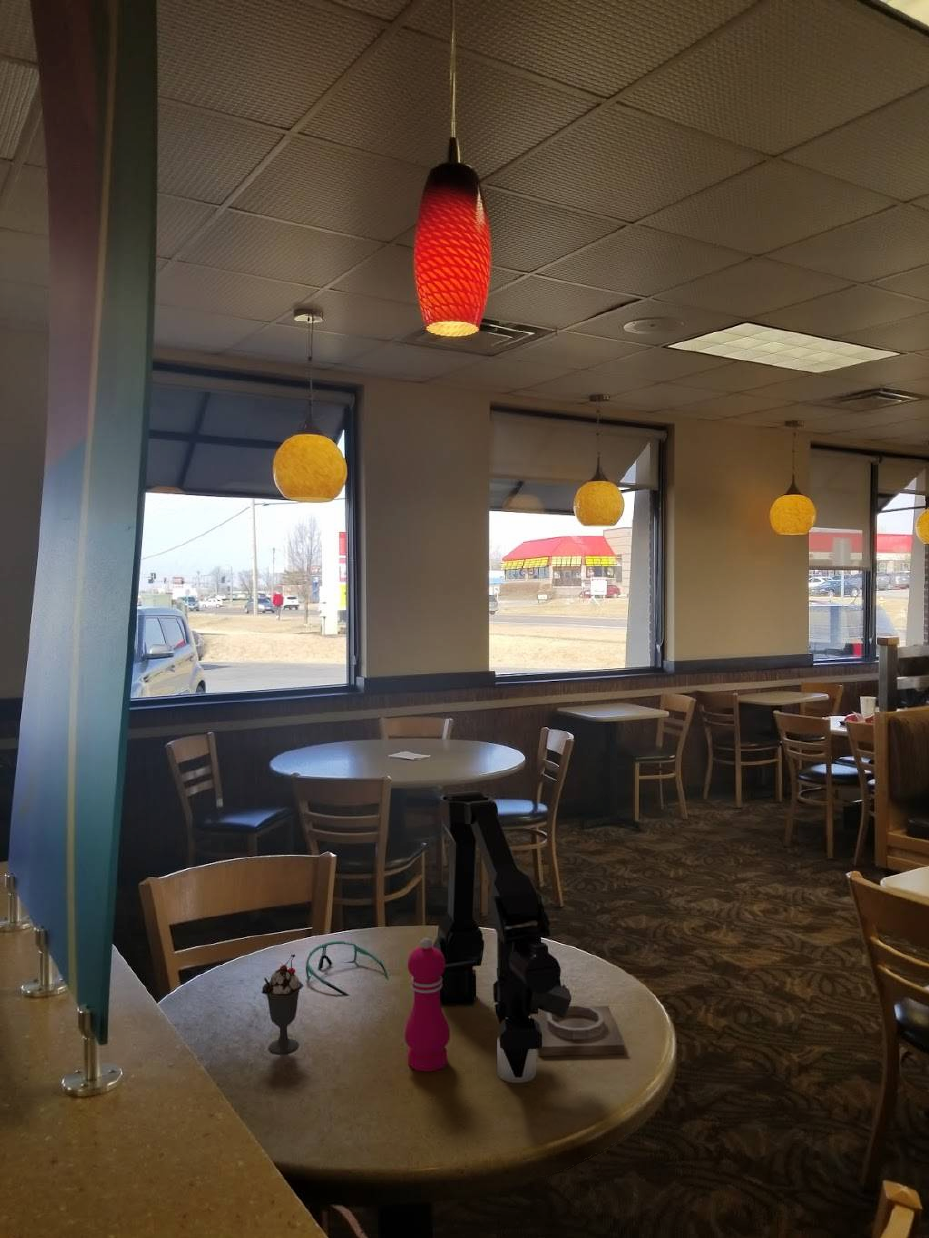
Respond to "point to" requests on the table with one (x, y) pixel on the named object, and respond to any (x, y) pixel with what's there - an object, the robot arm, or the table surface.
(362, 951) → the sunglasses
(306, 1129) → the table surface
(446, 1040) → the pepper mill
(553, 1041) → the mount board
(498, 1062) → the lens
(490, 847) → the robot arm
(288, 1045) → the sundae
